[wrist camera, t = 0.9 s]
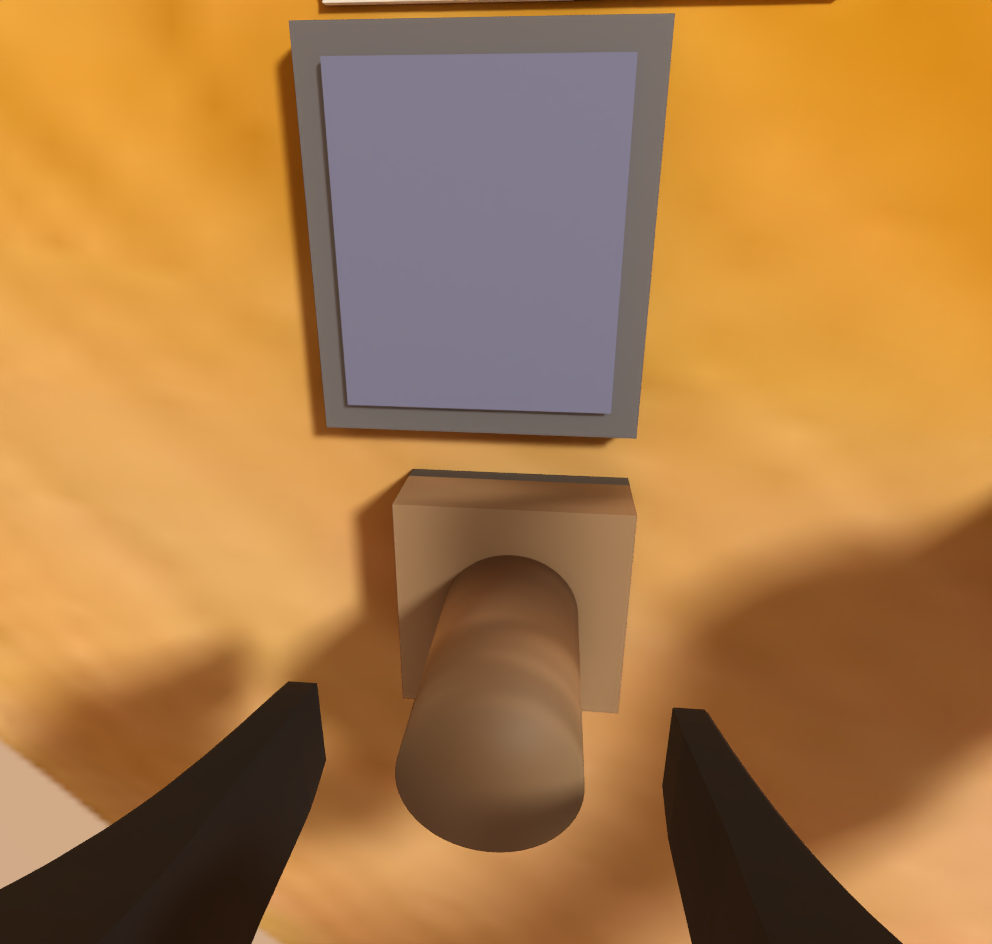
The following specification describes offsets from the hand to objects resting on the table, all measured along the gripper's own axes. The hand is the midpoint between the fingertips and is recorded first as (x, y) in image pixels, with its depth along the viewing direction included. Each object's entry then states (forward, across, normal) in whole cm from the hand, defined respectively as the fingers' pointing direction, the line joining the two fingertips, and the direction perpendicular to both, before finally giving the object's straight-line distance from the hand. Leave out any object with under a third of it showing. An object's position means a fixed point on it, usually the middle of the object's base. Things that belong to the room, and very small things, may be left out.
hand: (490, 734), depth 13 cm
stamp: (+7, 0, 0) cm, 7 cm away
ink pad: (+7, +1, -9) cm, 11 cm away
